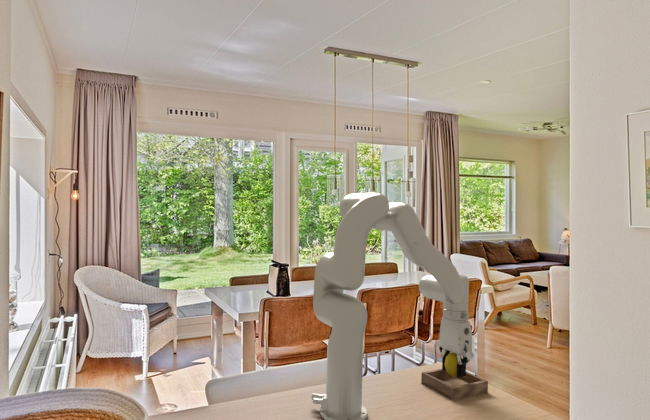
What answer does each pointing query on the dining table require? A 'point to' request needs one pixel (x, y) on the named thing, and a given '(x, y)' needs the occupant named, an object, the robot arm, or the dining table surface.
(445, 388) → the bin
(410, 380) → the dining table surface
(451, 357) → the lemon
